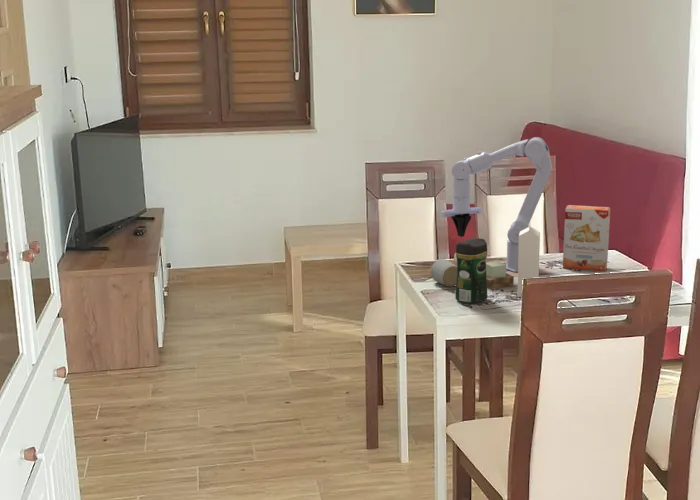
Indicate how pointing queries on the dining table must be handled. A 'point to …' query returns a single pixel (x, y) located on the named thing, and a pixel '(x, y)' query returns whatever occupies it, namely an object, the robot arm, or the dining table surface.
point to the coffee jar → (471, 271)
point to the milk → (528, 255)
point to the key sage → (495, 269)
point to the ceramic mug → (444, 272)
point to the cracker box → (586, 237)
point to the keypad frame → (496, 280)
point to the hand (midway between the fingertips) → (461, 236)
